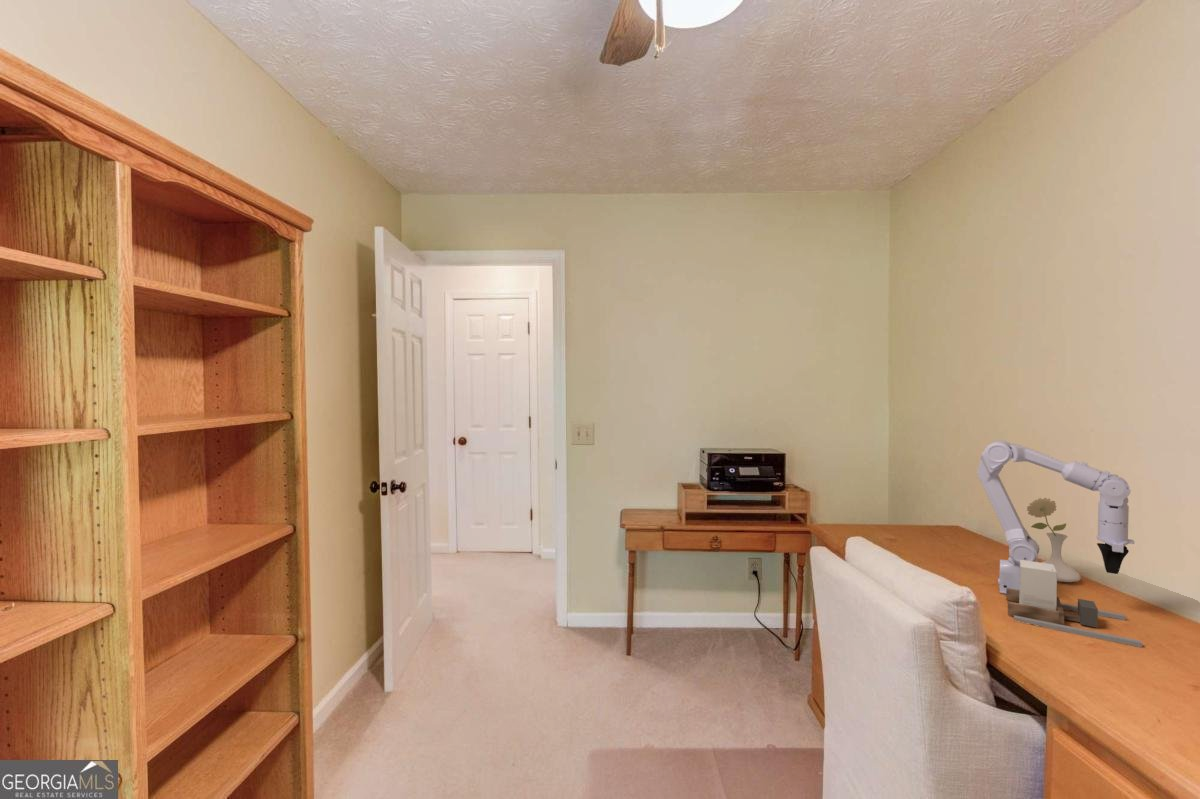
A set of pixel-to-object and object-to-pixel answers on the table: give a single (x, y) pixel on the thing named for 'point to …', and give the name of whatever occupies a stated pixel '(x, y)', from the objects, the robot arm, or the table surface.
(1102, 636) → the guide rails
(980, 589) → the table surface
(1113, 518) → the robot arm
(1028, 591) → the supplement box
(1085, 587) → the table surface
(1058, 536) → the flower in vase
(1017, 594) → the bench vise
